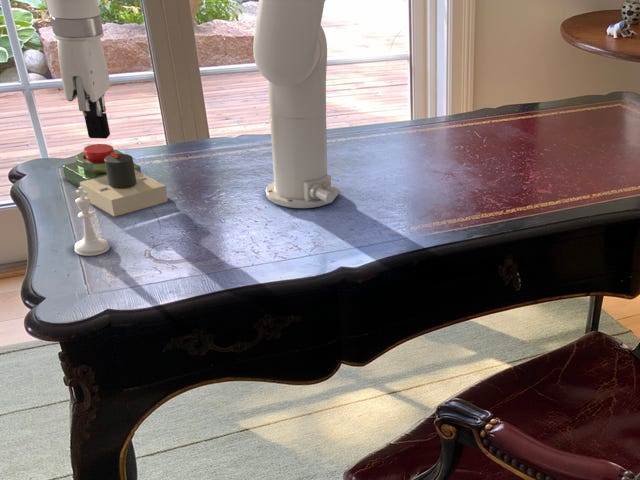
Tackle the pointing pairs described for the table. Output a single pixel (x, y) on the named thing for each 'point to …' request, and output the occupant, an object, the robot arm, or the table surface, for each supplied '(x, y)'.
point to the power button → (98, 152)
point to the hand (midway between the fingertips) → (99, 136)
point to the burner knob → (120, 170)
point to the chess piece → (88, 229)
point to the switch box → (87, 169)
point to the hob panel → (124, 194)
